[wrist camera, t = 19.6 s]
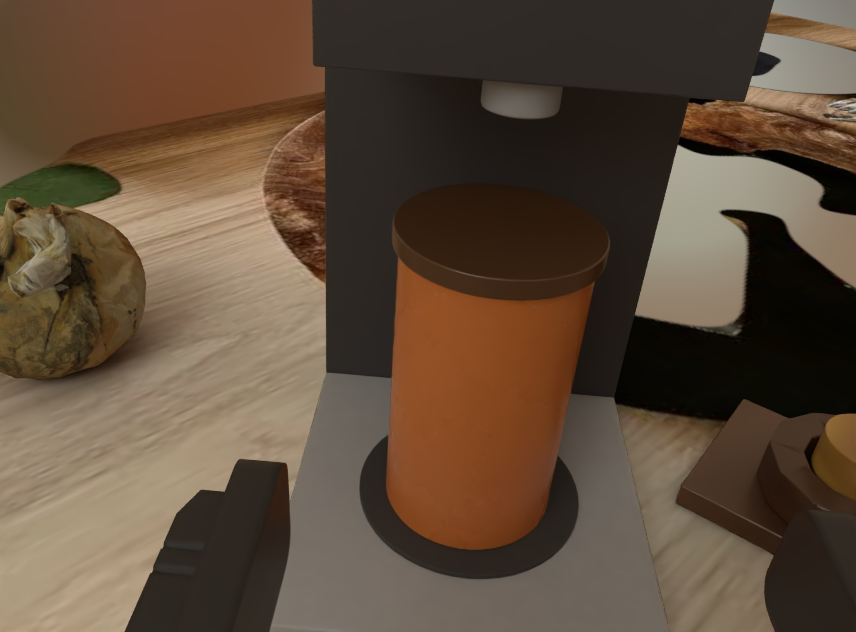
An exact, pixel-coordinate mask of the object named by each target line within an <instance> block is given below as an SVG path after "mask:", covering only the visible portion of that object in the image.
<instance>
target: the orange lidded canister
mask: <svg viewBox="0 0 856 632" xmlns="http://www.w3.org/2000/svg"><path fill="white" fill-rule="evenodd" d="M392 244H393V248H394V250H395V252H396V254H397V256H398V264H397V283H396V302H395V321H394V339H393V358H392V377H391V396H390V415H389V434H388V453H387V472H386V490H387V495H388V498H389V501H390V504H391V505H392V507H393V509H394V511H395V512H396V514H397V515H398V516H399V518H400V519H401V520H402V521H403V522H404V523H405V524H406V525H407V526H408V527H410V528H411V529H412V530H414V531H415V532H416V533H418V534H420V535H421V536H423V537H425V538H427V539H429V540H431V541H433V542H436V543H438V544H442V545H445V546H448V547H453V548H458V549H467V550H484V549H493V548H497V547H502V546H505V545H508V544H511V543H513V542H515V541H517V540H519V539H521V538H523V537H524V536H526V535H527V534H528V533H530V532H531V531H532V530H533V529H534V528H535V527H536V526H537V524H538V523H539V522H540V520H541V519H542V517H543V515H544V513H545V510H546V507H547V503H548V498H549V493H550V489H551V484H552V479H553V475H554V470H555V465H556V461H557V456H558V451H559V446H560V442H561V437H562V432H563V428H564V423H565V418H566V414H567V409H568V404H569V400H570V395H571V390H572V386H573V381H574V376H575V372H576V367H577V362H578V358H579V353H580V348H581V344H582V339H583V334H584V329H585V325H586V320H587V315H588V311H589V306H590V301H591V297H592V292H593V287H594V283H595V280H596V279H597V278H599V277H600V275H601V274H602V272H603V271H604V269H605V266H606V262H607V258H608V253H609V249H610V240H609V236H608V233H607V231H606V229H605V227H604V226H603V225H602V224H601V223H600V221H599V220H597V219H596V218H595V217H594V216H593V215H592V214H590V213H589V212H587V211H586V210H584V209H583V208H581V207H579V206H577V205H575V204H573V203H571V202H569V201H567V200H564V199H562V198H559V197H557V196H554V195H551V194H547V193H544V192H541V191H537V190H533V189H528V188H523V187H517V186H510V185H501V184H486V183H469V184H456V185H448V186H442V187H437V188H433V189H430V190H426V191H423V192H421V193H418V194H416V195H414V196H412V197H410V198H409V199H407V200H406V201H404V202H403V203H402V204H401V205H400V206H399V207H398V209H397V210H396V212H395V214H394V217H393V221H392Z"/></svg>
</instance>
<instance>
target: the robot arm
mask: <svg viewBox="0 0 856 632" xmlns="http://www.w3.org/2000/svg"><path fill="white" fill-rule="evenodd" d="M290 537H291V523H290V504H289V484H288V469H287V464H286V463H280V462H269V461H257V460H245V459H239V460H238V461H237V463H236V464H235V467H234V469H233V472H232V474H231V477H230V480H229V482H228V485H227V487H226V490H225V492H221V491H210V490H200V491H199V492H198V493H197V494H196V495H195V496H194V497H193V498H192V499H191V500H190V501H189V502H188V503H187V504H186V505H185V506H184V507H183V508H182V509H181V510H180V511H179V512H178V513H177V514H176V516H175V518H174V521H173V523H172V525H171V527H170V530H169V532H168V534H167V537H166V539H165V541H164V546H163V549H161V550H160V552H159V555H158V557H157V559H156V562H155V564H154V566H153V572H152V573H150V575H149V577H148V580H147V582H146V584H145V587H144V589H143V591H142V593H141V596H140V598H139V600H138V602H137V605H136V607H135V609H134V612H133V614H132V616H131V618H130V621H129V623H128V625H127V627H126V630H125V632H269V631H270V628H271V624H272V620H273V616H274V612H275V608H276V605H277V601H278V597H279V593H280V589H281V585H282V582H283V578H284V574H285V570H286V566H287V561H288V555H289V548H290ZM764 594H765V603H766V608H767V611H768V615H769V617H770V620H771V623H772V625H773V628H774V631H775V632H856V517H855V516H854V515H853V514H851V513H846V512H834V511H823V510H811V509H798V510H797V511H795V513H794V514H793V516H792V517H791V520H790V522H789V524H788V526H787V528H786V531H785V533H784V535H783V537H782V539H781V541H780V544H779V546H778V548H777V550H776V552H775V555H774V557H773V559H772V561H771V563H770V566H769V568H768V570H767V573H766V577H765V586H764Z"/></svg>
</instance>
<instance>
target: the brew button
mask: <svg viewBox="0 0 856 632" xmlns="http://www.w3.org/2000/svg"><path fill="white" fill-rule="evenodd" d="M811 461H812V466H813V469H814V471H815V473H816V474H817V476H818V477H819V478H820V479H821V480H822V481H824V482H825V483H826V484H827V485H828V486H829V487H830V488H831V489H832V490H834V491H835V492H837V493H840V494H842V495H844V496H846V497H848V498H850V499H852V500H855V501H856V414H842V415H837V416H835V417H833V418H831V419H830V420H829V421H828V422H827V423H826V425H825V428H824V430H823V432H822V434H821V436H820V439H819V441H818V443H817V445H816V447H815V450H814V452H813V454H812V458H811Z"/></svg>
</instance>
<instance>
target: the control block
mask: <svg viewBox="0 0 856 632" xmlns="http://www.w3.org/2000/svg"><path fill="white" fill-rule="evenodd" d="M835 416H836V415H829V414H822V413H811V414H807V415H803V416H799V417H795V418H791V419H789V418H786V417H784V416H782V415H780V414H777V413H775V412H773V411H770V410H768V409H766V408H763V407H761V406H759V405H757V404H754V403H752V402H750V401H747V400H745V399H744V400H743V401H742V402H741V403H740V405H739V406H738V407H737V409H736V410H735V412H734V413H733V414H732V416H731V417H730V419H729V420H728V421H727V423H726V424H725V425H724V427H723V428H722V430H721V431H720V432H719V434H718V435H717V437H716V438H715V439H714V441H713V442H712V443H711V445H710V446H709V448H708V449H707V450H706V452H705V453H704V455H703V456H702V457H701V459H700V460H699V461H698V463H697V464H696V466H695V467H694V468H693V470H692V471H691V473H690V474H689V475H688V477H687V478H686V479H685V481H684V482H683V484H682V485H681V487H680V490H679V493H678V496H677V499H676V502H677V503H678V504H680V505H682V506H684V507H686V508H688V509H690V510H692V511H693V512H695V513H697V514H699V515H701V516H703V517H705V518H707V519H709V520H711V521H712V522H714V523H716V524H718V525H720V526H722V527H724V528H726V529H728V530H730V531H731V532H733V533H735V534H737V535H739V536H741V537H743V538H745V539H747V540H748V541H750V542H752V543H754V544H756V545H758V546H760V547H762V548H764V549H766V550H767V551H769V552H771V553H773V554H775V552H776V550H777V548H778V546H779V544H780V541H781V539H782V537H783V535H784V533H785V531H786V528H787V526H788V524H789V522H790V520H791V517H792V516H793V514H794V513H795V511H797V510H798V509H811V510H823V511H834V512H846V513H851V514H853V515H854V516H855V517H856V501H855V500H852V499H850V498H848V497H846V496H844V495H842V494H840V493H837V492H835V491H834V490H832V489H831V488H830V487H829V486H828V485H827V484H826V483H825V482H824V481H822V480H821V479H820V478H819V477H818V476H817V474H816V473H815V471H814V469H813V466H812V461H811V458H812V454H813V452H814V450H815V447H816V445H817V443H818V441H819V439H820V436H821V434H822V432H823V430H824V428H825V425H826V423H827V422H828V421H829V420H830V419H831V418H833V417H835Z"/></svg>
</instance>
